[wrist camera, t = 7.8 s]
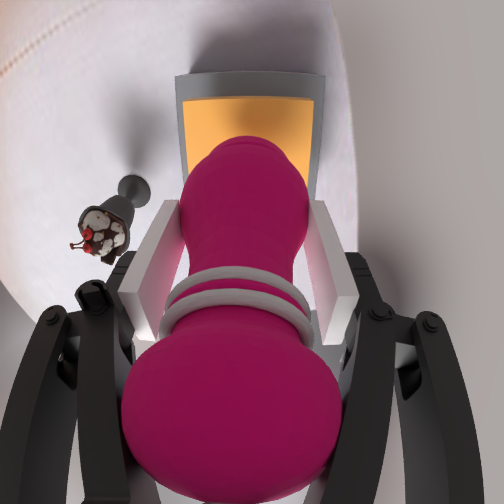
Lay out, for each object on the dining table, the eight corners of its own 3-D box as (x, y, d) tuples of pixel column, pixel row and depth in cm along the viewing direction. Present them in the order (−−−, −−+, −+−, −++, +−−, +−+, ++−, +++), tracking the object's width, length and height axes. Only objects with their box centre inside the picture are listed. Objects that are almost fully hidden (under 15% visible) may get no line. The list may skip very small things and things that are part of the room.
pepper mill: (234, 106, 16) (94, 592, 1) (320, 169, 19) (437, 522, 3) (177, 189, 20) (62, 508, 4) (257, 238, 23) (256, 538, 7)
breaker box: (188, 73, 27) (174, 76, 23) (313, 73, 27) (325, 76, 23) (196, 182, 36) (186, 204, 31) (306, 182, 36) (313, 204, 31)
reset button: (199, 92, 25) (182, 101, 20) (300, 92, 25) (313, 101, 19) (204, 181, 31) (192, 212, 26) (295, 181, 31) (304, 212, 26)
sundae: (117, 162, 34) (57, 223, 22) (162, 179, 36) (117, 248, 24) (108, 202, 38) (57, 271, 26) (149, 218, 39) (110, 294, 27)
